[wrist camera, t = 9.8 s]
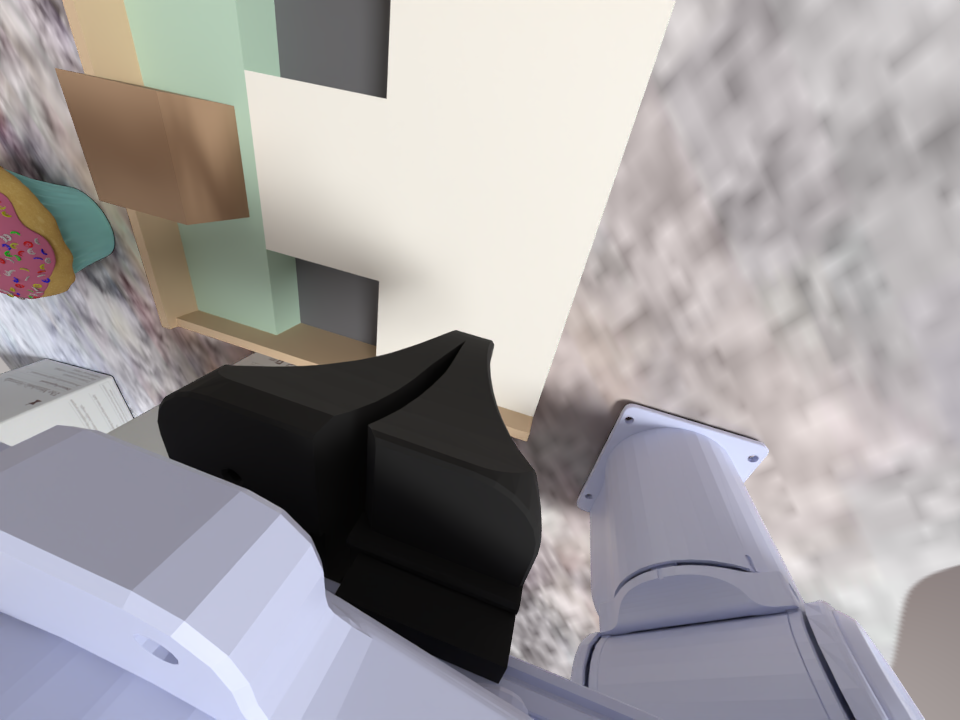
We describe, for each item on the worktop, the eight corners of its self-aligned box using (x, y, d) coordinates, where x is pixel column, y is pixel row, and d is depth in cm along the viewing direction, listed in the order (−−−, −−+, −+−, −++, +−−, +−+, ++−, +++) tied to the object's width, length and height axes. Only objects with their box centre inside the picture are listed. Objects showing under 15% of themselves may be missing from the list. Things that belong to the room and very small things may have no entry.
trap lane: (535, 401, 23) (525, 447, 19) (225, 304, 26) (162, 326, 22) (686, -45, 12) (731, -144, 9) (143, -115, 16) (-2, -209, 12)
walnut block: (249, 217, 19) (186, 225, 16) (173, 196, 20) (99, 200, 17) (234, 106, 16) (156, 90, 14) (147, 86, 17) (54, 68, 14)
